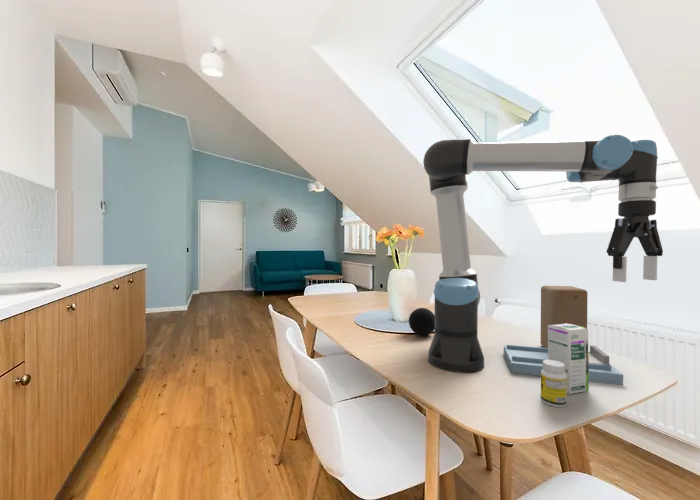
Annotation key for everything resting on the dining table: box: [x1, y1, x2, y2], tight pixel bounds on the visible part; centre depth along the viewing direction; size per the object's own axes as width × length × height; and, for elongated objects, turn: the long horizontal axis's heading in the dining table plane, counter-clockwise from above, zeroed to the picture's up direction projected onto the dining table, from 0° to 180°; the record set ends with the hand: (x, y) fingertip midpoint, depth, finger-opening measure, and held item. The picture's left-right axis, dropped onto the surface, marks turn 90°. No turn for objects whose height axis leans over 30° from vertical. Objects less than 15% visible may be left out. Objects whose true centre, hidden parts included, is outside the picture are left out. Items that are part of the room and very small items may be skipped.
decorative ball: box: [408, 307, 435, 336], centre depth 121 cm, size 10×10×10 cm
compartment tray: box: [503, 343, 624, 386], centre depth 89 cm, size 24×16×4 cm, turn 71°
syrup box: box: [548, 323, 590, 395], centre depth 76 cm, size 6×6×14 cm
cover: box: [588, 344, 611, 365], centre depth 87 cm, size 10×9×3 cm
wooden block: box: [540, 285, 588, 348], centre depth 103 cm, size 10×10×20 cm
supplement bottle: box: [540, 360, 568, 408], centre depth 69 cm, size 5×5×8 cm
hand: (635, 280), depth 87 cm, fingers open, 13 cm apart
